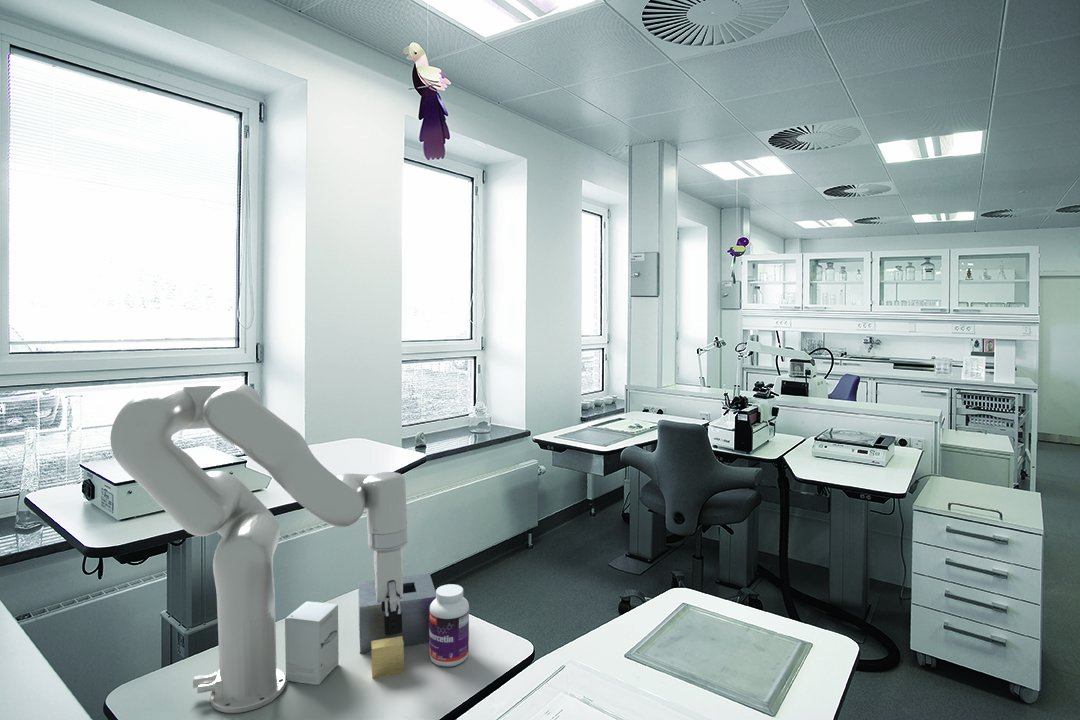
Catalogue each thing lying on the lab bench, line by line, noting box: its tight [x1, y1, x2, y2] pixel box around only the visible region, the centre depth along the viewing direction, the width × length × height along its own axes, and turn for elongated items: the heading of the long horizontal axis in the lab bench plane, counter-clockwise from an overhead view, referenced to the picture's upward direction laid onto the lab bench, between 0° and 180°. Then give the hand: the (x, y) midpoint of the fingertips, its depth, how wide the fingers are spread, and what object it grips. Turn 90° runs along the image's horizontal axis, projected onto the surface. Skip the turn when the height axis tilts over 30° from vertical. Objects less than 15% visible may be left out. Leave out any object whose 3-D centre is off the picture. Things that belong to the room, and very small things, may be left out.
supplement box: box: [284, 600, 340, 686], centre depth 116 cm, size 7×7×13 cm
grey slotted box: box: [357, 573, 436, 654], centre depth 131 cm, size 16×12×10 cm
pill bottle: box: [428, 583, 470, 667], centre depth 121 cm, size 8×8×14 cm
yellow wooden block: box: [370, 636, 405, 679], centre depth 117 cm, size 6×3×6 cm, turn 108°
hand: (391, 621), depth 117 cm, fingers open, 9 cm apart
